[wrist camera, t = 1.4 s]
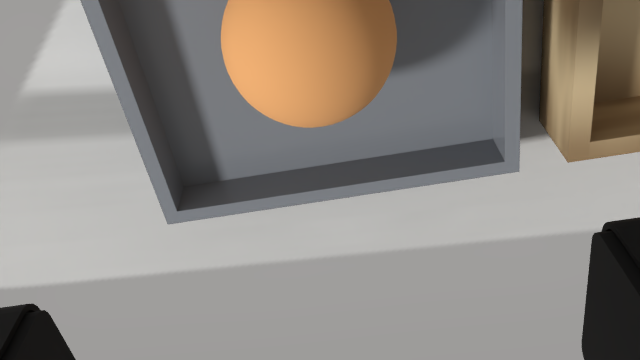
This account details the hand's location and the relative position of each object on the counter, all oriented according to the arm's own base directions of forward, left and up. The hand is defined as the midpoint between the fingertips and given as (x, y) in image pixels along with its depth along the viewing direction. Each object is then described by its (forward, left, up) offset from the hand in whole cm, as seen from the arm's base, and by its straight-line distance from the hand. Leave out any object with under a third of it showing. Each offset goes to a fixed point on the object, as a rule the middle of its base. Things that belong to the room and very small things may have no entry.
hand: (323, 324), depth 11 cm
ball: (0, 0, -16) cm, 16 cm away
